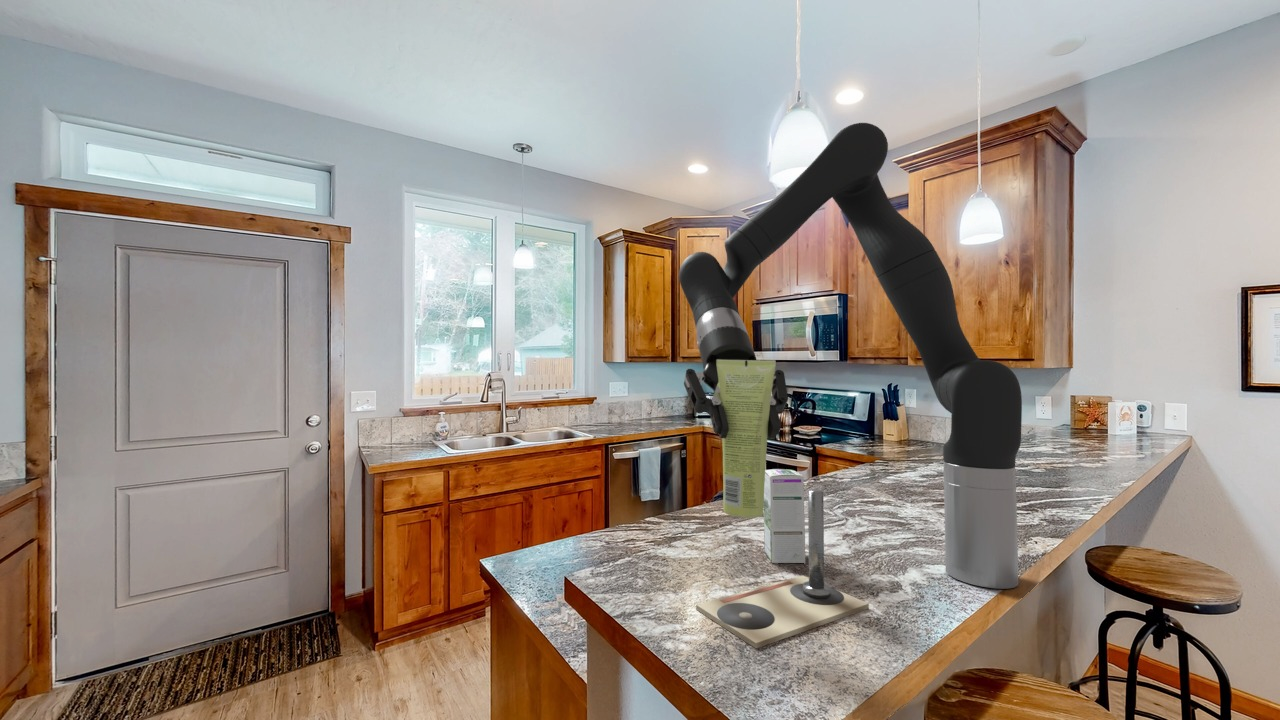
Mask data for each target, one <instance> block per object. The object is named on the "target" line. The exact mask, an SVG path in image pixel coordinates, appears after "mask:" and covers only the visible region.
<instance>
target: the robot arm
mask: <svg viewBox="0 0 1280 720" xmlns="http://www.w3.org/2000/svg"><path fill="white" fill-rule="evenodd" d="M888 150H889V144H888V139H887V136H886V135H885V133H884V131H883V130H882V129H881V128H880V127H878V126H877V125H875V124H872V123H868V122H857V123H853V124H850V125H848V126H846V127H844V128H842V129H841V130H840V131H838V133H836V134H835V136H834V137H833V138H832V139H831V141H829V143H828V144H827V145H826V146H825V148H824V149H823V150H822V151H821V152H820V153H819V155H818V156H817V157H816V158H815V159H814V160H813V161H812V162H811V163H810V165H808V167H807V168H806V169H805V170H804V171H802V172H801V174H799V176H797V178H795V179H794V180H793V182H791V183H790V184H789V185H788V186H787V187H786V188H784V189H783V191H781V192H780V193H779V194H778V195H777V196H776V197H774V198H773V199H772V200H771V201H770V202H768V203H767V204H766V205H765V206H763V207H762V208H761V209H760V210H758V212H756V213H755V214H754V215H752V216H751V217H750V218H749V219H747V221H745V222H744V223H743V224H742V225H741V226H740V227H738V228H737V229H735V231H733V233H731V234H730V235H729V236H728V237H727V238H726V239H725V241H724V248H725V252H726V253H725V254H726V257H727V261H726V263H725V265H724V267H722V265H721V263H720V262H719V261H718V260H717V258H716V257H715V256H714V255H712V254H711V253H710V252H706V251H698V252H693V253H691V254H690V255H688V256H687V257H686V258H685V259H684V260H683V261H682V264H681V265H680V268H679V271H678V280H679V283H680V287H681V289H682V292H683V294H684V296H685V298H686V300H687V302H688V304H689V306H690V309H691V312H692V317H693V321H694V325H695V330H696V342H697V349H698V351H699V354H700V359H701V365H702V368H703V370H702V371H699V372H696V371H695V369H693V368H688V369H686V371H685V376H684V381H683V386H684V388H685V390H686V393H687V395H688V397H689V400H690V402H691V405H692V407H693V410H694V411H695V412H696V414H703V413H707V414H708V415H709V416H710V420H711V425H712V429H713V433H714V434H715V435H718V436H719V439H722V438H726V437H727V434H728V430H729V427H728V422H727V418H726V414H725V410H724V406H721V402H722V399H721V397H720V390H719V379H718V372H717V364H716V363H717V360H756V361H757V357H756V353H755V350H754V347H753V345H752V341H751V339H750V336H749V333H748V330H747V327H746V325H745V323H744V321H743V320H742V318H741V315H740V312H739V309H738V306H737V303H736V302H735V300H734V298H735V296H736V295H737V294H738V292H739V291H740V290H741V288H742V287H743V285H744V284H745V283H746V281H747V280H748V279H749V278H750V276H751V275H752V273H753V272H754V270H755V269H756V268H757V267H759V265H760V264H762V263H763V262H765V260H767V259H768V258H769V257H770V256H771V255H772V254H774V253H775V252H776V251H778V249H780V248H781V247H782V246H783V245H784V244H785V243H787V242H788V240H790V238H791V237H793V235H795V233H796V232H797V231H798V230H799V229H800V228H801V227H803V225H804V224H805V223H807V221H808V220H809V219H810V218H811V217H812V216H813V215H814V214H815V213H816V212H817V211H818V210H819V209H820V208H821V207H822V206H824V205H825V204H826V203H827V202H828V201H829V200H830V199H833V200H834V202H835V204H836V205H837V206H838V208H839V209H840V211H841V212H842V214H843V215H844V216H845V218H846V219H847V221H848V222H849V224H850V226H851V228H852V230H853V231H854V233H855V236H856V237H857V240H858V241H859V244H860V246H861V248H862V250H863V252H864V254H865V255H866V258H867V260H868V261H869V263H870V266H871V268H872V270H873V272H874V274H875V276H876V278H877V280H878V283H879V285H881V287H882V290H883V293H884V294H885V295H886V297H887V298H888V300H889V303H890V304H891V305H892V307H893V309H894V312H895V313H896V314H897V316H898V318H899V320H900V321H901V323H902V325H903V327H904V329H905V330H906V332H907V334H908V335H909V337H910V338H911V340H912V342H913V343H914V345H915V348H916V349H917V351H918V354H919V357H920V358H921V360H922V364H923V365H924V368H925V370H926V373H927V377H928V378H929V381H930V384H931V386H932V388H933V391H934V394H935V396H936V399H937V400H938V402H939V403H940V405H941V406H942V407H943V408H944V409H945V410H946V411H948V413H950V414H951V419H950V420H951V422H950V423H951V424H950V425H951V427H950V436H949V438H948V440H947V441H946V442H945V443H944V444H943V450H942V452H943V453H942V454H943V455H942V457H943V460H942V461H943V495H944V496H943V497H944V498H943V499H944V500H943V501H944V502H943V503H944V504H943V505H944V549H945V550H944V551H945V552H944V556H945V559H944V560H945V563H944V564H945V572H946V574H947V575H949V576H950V577H951V578H954V579H956V580H959V581H961V582H964V583H966V584H969V585H970V584H971V585H974V586H978V587H984V588H990V589H999V590H1001V589H1002V590H1005V589H1013V588H1016V587H1018V586H1019V550H1018V549H1019V548H1018V514H1017V513H1018V510H1017V480H1016V479H1017V477H1016V474H1017V473H1016V456H1017V454H1018V453H1019V450H1020V447H1021V444H1022V423H1023V422H1022V421H1023V419H1022V418H1023V417H1022V416H1023V415H1022V414H1023V411H1022V410H1023V407H1022V405H1023V401H1022V398H1023V396H1022V388H1021V385H1020V382H1019V380H1018V377H1017V375H1016V373H1014V371H1013V370H1012V369H1010V367H1008V366H1007V365H1005V364H1003V363H1001V362H998V361H994V360H990V359H980V358H979V357H978V356H977V354H976V352H975V351H974V348H972V346H971V344H970V343H969V340H968V339H967V338H966V336H965V334H964V332H963V329H962V327H961V324H960V321H959V318H958V317H959V316H958V312H957V306H956V300H955V294H954V289H953V285H952V281H951V278H950V275H949V273H948V270H947V269H946V266H945V265H944V263H943V262H942V259H941V257H940V256H939V254H938V252H937V250H936V249H935V246H934V245H933V243H932V242H931V241H930V239H929V238H928V237H927V236H926V235H925V234H924V233H923V232H922V231H921V230H920V229H919V228H917V227H916V226H915V225H914V224H913V223H911V221H909V220H907V218H905V217H904V216H903V215H902V214H900V212H899V211H898V210H897V209H896V208H895V207H894V205H893V204H892V203H891V201H890V199H889V197H888V195H887V193H886V192H885V189H884V188H883V185H882V183H881V181H880V177H879V175H878V173H879V172H880V170H881V169H882V167H883V165H884V164H885V161H886V158H887V156H888ZM702 383H704V384H705V385H706V386H708V387H709V388H710V389H711V390H713V391H714V393H713V395H712V398H708V397H707V396H706V393H705V391H704V389H703V386H702V385H703V384H702ZM786 383H787V382H786V376H785V372H784V371H783V370H781V369H775V372H774V377H773V384H772V392H771V401H770V411H769V422H768V435H767V438H769V439H776V438H777V435H779V433H780V430H781V428H782V421H781V418H780V416H779V414H780V415H781V414H783V412H784V411H785V407H786V405H787V403H788V400H789V396H788V389H787V385H786Z"/></svg>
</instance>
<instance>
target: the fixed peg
mask: <svg viewBox="0 0 1280 720" xmlns="http://www.w3.org/2000/svg"><path fill="white" fill-rule="evenodd" d="M807 493H808V495H807V496H808V497H807V500H808V501H807V502H808V505H807V506H808V508H807V509H808V510H807V511H808V513H807V514H808V519H807V520H808V524H807V526H808V578H809V581H807V582H804V583H803V593H804V594H805V595H806V596H808V597H810V598H814V599H828V598H830V596H831V588H832V587H831V586H830V585H829V584H827V583H825V529H824V528H825V522H824V521H825V520H824V519H825V515H824V512H825V511H824V509H825V508H824V505H825V504H824V502H825V501H824V491H823V490H821V489H816V488H815V489H812V488H811V489H808V491H807ZM830 587H831V588H830Z"/></svg>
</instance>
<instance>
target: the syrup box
mask: <svg viewBox="0 0 1280 720" xmlns="http://www.w3.org/2000/svg"><path fill="white" fill-rule="evenodd" d="M804 486H805V483H804V475H802V474H801V473H799V472H798V471H796V470H794V469H787V468H786V469H785V468H772V469H765V484H764V506H763V534H764V535H763V540H764V541H763V544H764V547H763V548H764V553H765V554H766V556H767V558H768V559H769V561H770V562H771V564H778V563H804V564H803V565H805V564H806V532H805V531H806V524H805V520H806V519H805V515H806V514H805V496H804V495H805V491H804V490H805V488H804Z"/></svg>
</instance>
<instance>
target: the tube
mask: <svg viewBox="0 0 1280 720" xmlns="http://www.w3.org/2000/svg"><path fill="white" fill-rule="evenodd" d="M756 360H757V359H756ZM756 360H717V363H716V364H717V372H718V379H719V390H720V397H721V399H722V402H721V406H724V410H725V414H726V418H727V422H728V427H729V430H728V434H727V437H726V438H721V439H722V480H723V481H722V482H723V484H722V485H723V486H722V487H723V488H722V489H723V491H722V493H723V498H722V501H723V506H722V507H723V513H724V514H726V515H728V516H730V517H734V518H739V519H740V518H741V519H753V518H754V519H756V518H760V517H762V516H764V484H765V470H766V465H767V464H766V463H767V446H768V422H769V411H770V401H771V396H772V384H773V377H774V374H775V371H776V366H777V363H776V361H777V360H773V359H772V360H771V359H770V360H759V359H758V360H757V361H756Z"/></svg>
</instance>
